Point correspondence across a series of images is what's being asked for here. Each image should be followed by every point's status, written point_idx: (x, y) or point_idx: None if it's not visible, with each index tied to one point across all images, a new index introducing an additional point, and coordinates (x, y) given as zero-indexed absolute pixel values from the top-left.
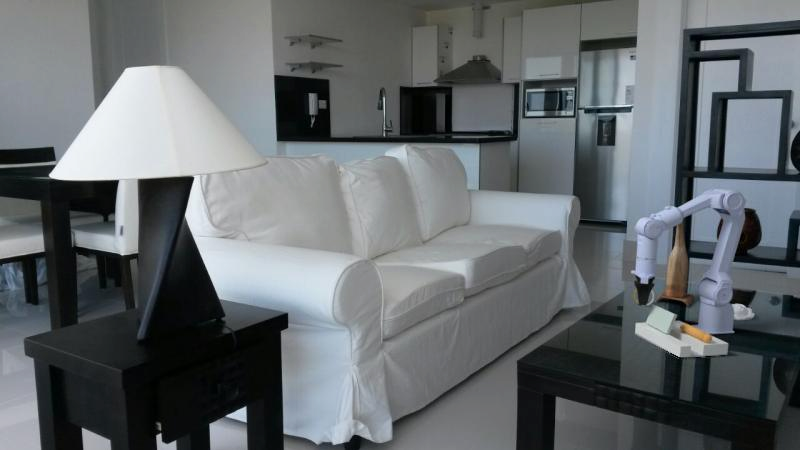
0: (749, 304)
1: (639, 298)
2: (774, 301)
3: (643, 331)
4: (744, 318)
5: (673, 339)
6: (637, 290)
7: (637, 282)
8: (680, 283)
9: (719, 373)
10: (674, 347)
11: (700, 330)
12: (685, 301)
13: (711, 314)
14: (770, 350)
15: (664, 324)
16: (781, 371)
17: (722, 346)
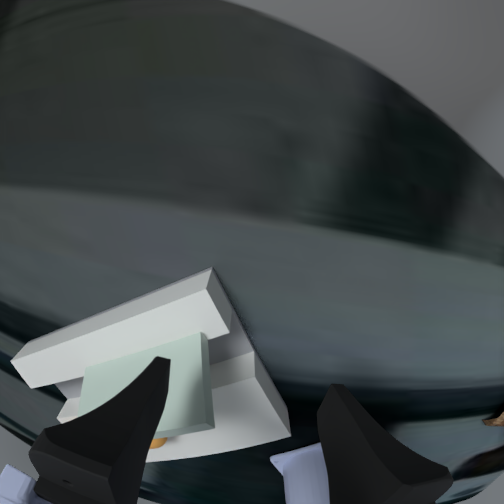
0: (465, 479)
1: (137, 383)
2: (465, 492)
3: (152, 301)
4: None
5: (53, 367)
6: (89, 413)
7: (38, 463)
8: None
9: (4, 382)
10: (28, 350)
11: None
12: (492, 423)
13: (289, 502)
14: (192, 499)
15: (101, 386)
16: None
17: None
